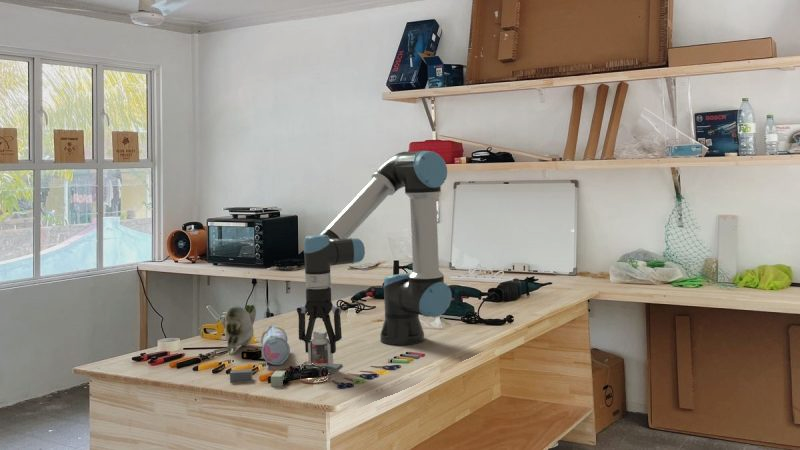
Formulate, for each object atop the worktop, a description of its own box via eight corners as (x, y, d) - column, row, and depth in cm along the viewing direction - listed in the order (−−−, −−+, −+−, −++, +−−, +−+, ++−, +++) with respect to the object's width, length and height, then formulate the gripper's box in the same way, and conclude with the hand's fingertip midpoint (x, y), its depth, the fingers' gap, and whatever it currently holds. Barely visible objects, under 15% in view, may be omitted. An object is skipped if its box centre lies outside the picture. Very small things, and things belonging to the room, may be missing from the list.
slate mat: (311, 364, 250) (311, 362, 250) (342, 365, 248) (342, 363, 248) (299, 373, 241) (299, 371, 241) (331, 374, 238) (331, 372, 238)
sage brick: (276, 381, 234) (275, 370, 233) (286, 381, 233) (286, 370, 233) (271, 387, 228) (270, 376, 228) (281, 386, 228) (281, 376, 227)
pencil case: (261, 352, 269) (260, 323, 268) (287, 350, 271) (286, 322, 270) (262, 368, 249) (261, 337, 248) (291, 365, 250) (289, 335, 249)
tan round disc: (306, 375, 238) (306, 372, 238) (332, 376, 236) (332, 373, 236) (296, 382, 230) (296, 380, 230) (323, 384, 228) (323, 381, 228)
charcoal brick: (230, 383, 233) (229, 372, 233) (231, 380, 236) (231, 370, 236) (251, 382, 233) (250, 371, 233) (252, 379, 236) (252, 369, 236)
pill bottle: (309, 365, 243) (307, 333, 242) (317, 361, 248) (316, 329, 247) (325, 366, 241) (323, 334, 240) (333, 362, 246) (332, 330, 245)
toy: (243, 355, 266) (264, 339, 286) (241, 309, 264) (261, 296, 284) (219, 355, 268) (241, 339, 287) (216, 309, 266) (238, 296, 286)
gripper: (284, 288, 241) (287, 365, 243) (343, 289, 236) (346, 367, 238) (294, 284, 248) (296, 359, 250) (351, 285, 244) (354, 361, 246)
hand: (321, 363), depth 244 cm, fingers closed on pill bottle, 5 cm apart
